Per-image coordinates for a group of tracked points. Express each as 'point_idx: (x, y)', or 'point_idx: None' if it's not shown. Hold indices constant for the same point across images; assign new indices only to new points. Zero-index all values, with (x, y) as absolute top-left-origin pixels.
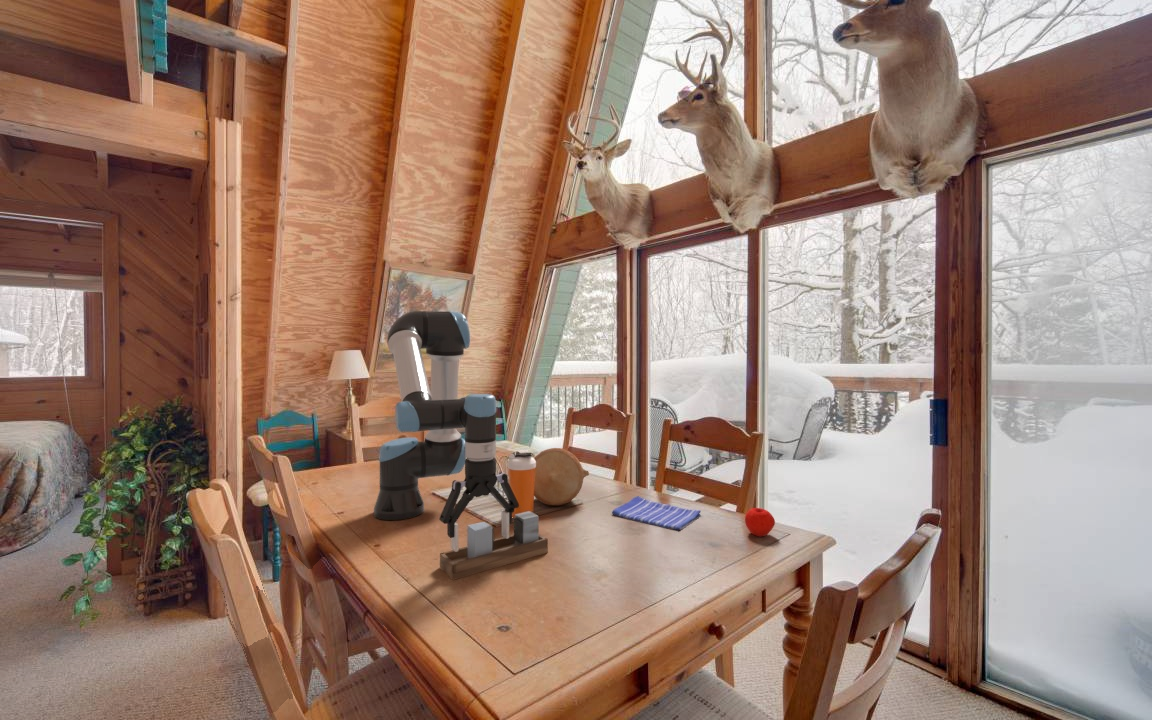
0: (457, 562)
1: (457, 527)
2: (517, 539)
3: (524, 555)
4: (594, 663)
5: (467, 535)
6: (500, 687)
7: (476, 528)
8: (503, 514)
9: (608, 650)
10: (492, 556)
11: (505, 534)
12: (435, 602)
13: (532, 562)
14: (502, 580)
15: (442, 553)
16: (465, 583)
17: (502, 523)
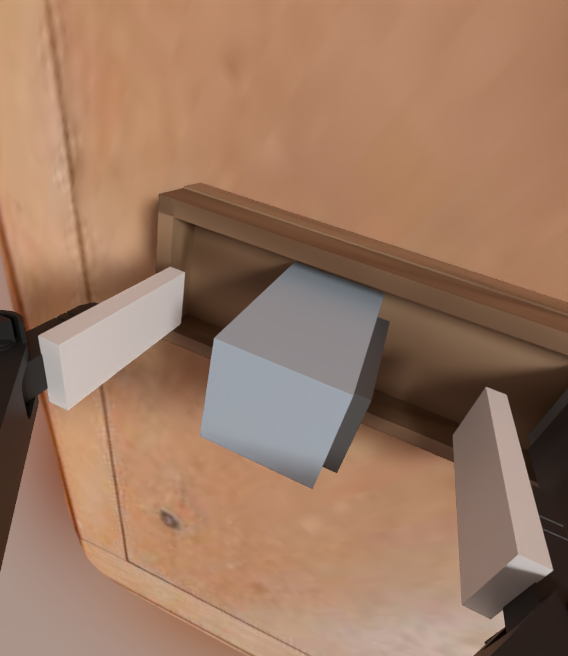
0: (175, 336)
1: (80, 393)
2: (554, 433)
3: None
4: (212, 631)
5: (248, 307)
6: (104, 554)
7: (225, 424)
8: (489, 547)
9: (246, 645)
10: None
11: (461, 441)
12: None
13: None
14: None
15: (168, 206)
16: (205, 359)
17: (487, 462)
